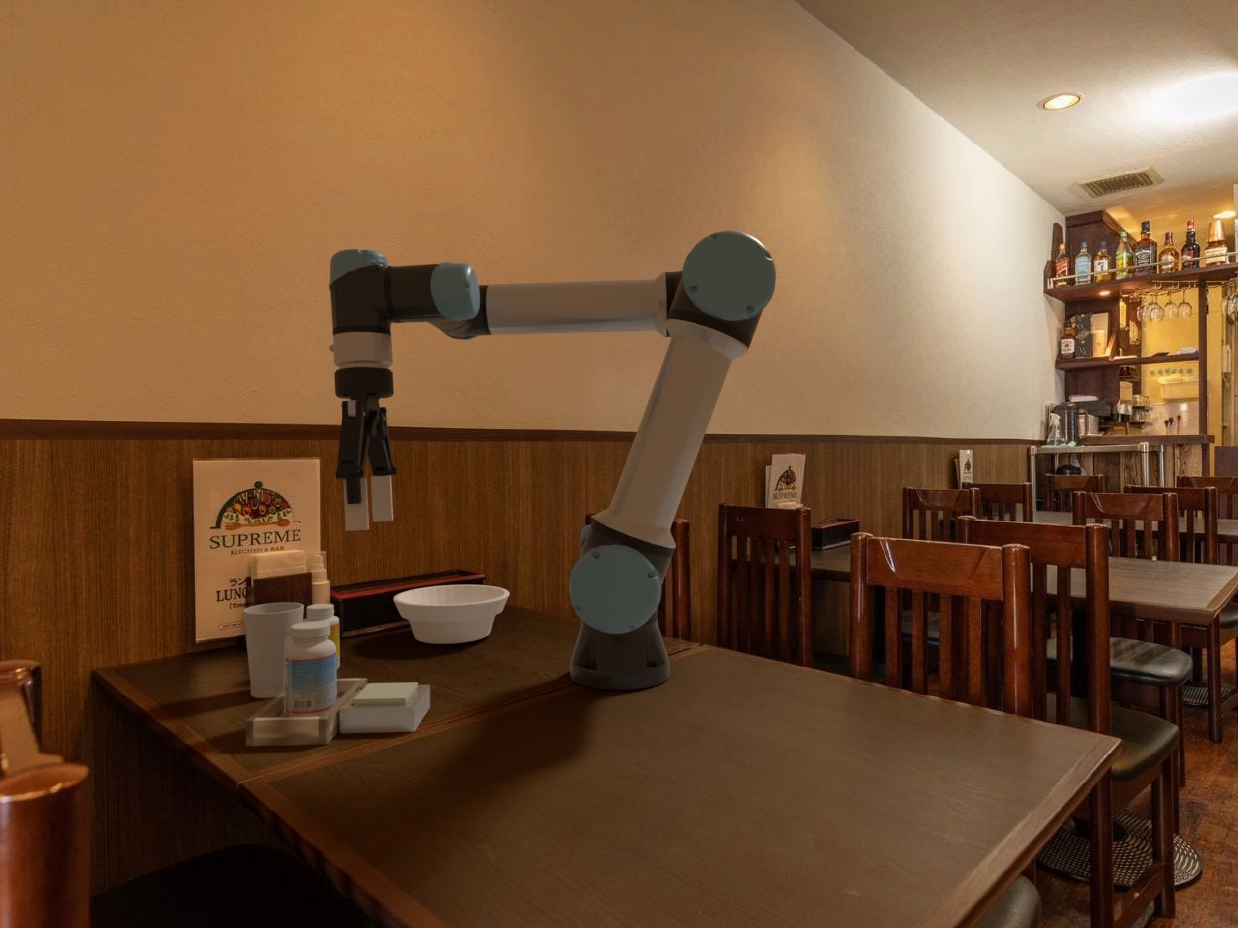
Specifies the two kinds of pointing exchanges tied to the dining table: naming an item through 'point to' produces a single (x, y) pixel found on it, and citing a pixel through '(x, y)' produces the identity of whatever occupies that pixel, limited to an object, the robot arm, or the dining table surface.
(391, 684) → the pad
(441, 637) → the bowl
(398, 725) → the white note holder
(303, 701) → the pill bottle
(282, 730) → the trough
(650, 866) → the dining table surface
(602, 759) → the dining table surface
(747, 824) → the dining table surface
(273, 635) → the cup
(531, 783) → the dining table surface
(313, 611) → the supplement bottle
